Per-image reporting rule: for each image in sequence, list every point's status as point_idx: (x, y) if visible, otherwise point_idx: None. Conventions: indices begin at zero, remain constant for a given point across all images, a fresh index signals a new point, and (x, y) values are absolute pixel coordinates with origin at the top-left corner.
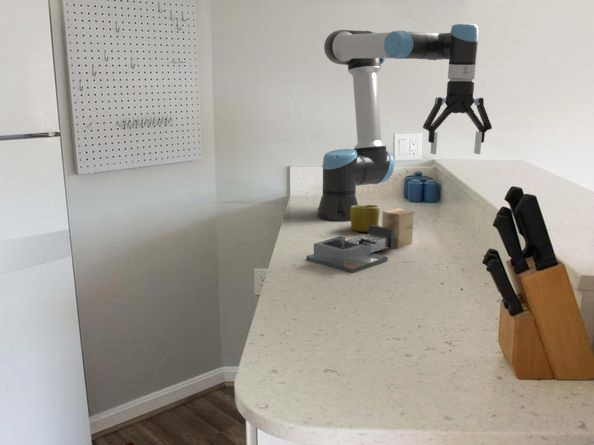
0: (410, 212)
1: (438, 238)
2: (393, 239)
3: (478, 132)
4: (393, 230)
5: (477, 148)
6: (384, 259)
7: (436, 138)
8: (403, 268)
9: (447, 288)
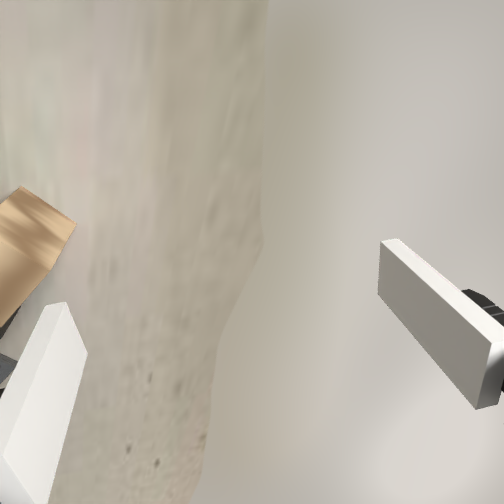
0: (38, 283)
1: (164, 158)
2: (12, 319)
3: (476, 386)
4: (1, 336)
5: (396, 304)
6: (8, 373)
7: (53, 455)
8: None
9: (135, 464)
